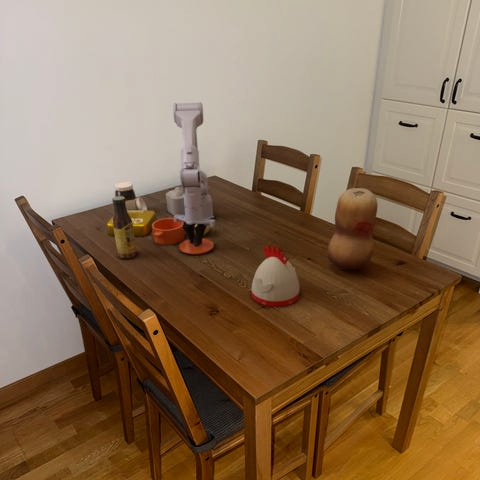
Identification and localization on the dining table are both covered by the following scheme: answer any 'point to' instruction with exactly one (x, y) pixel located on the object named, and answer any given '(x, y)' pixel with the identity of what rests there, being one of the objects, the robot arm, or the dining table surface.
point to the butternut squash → (353, 229)
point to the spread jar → (129, 196)
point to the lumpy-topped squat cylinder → (175, 202)
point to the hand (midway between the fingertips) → (196, 243)
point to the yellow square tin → (138, 222)
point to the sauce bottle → (123, 229)
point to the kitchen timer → (275, 280)
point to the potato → (205, 229)
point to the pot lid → (196, 246)
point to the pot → (168, 231)
